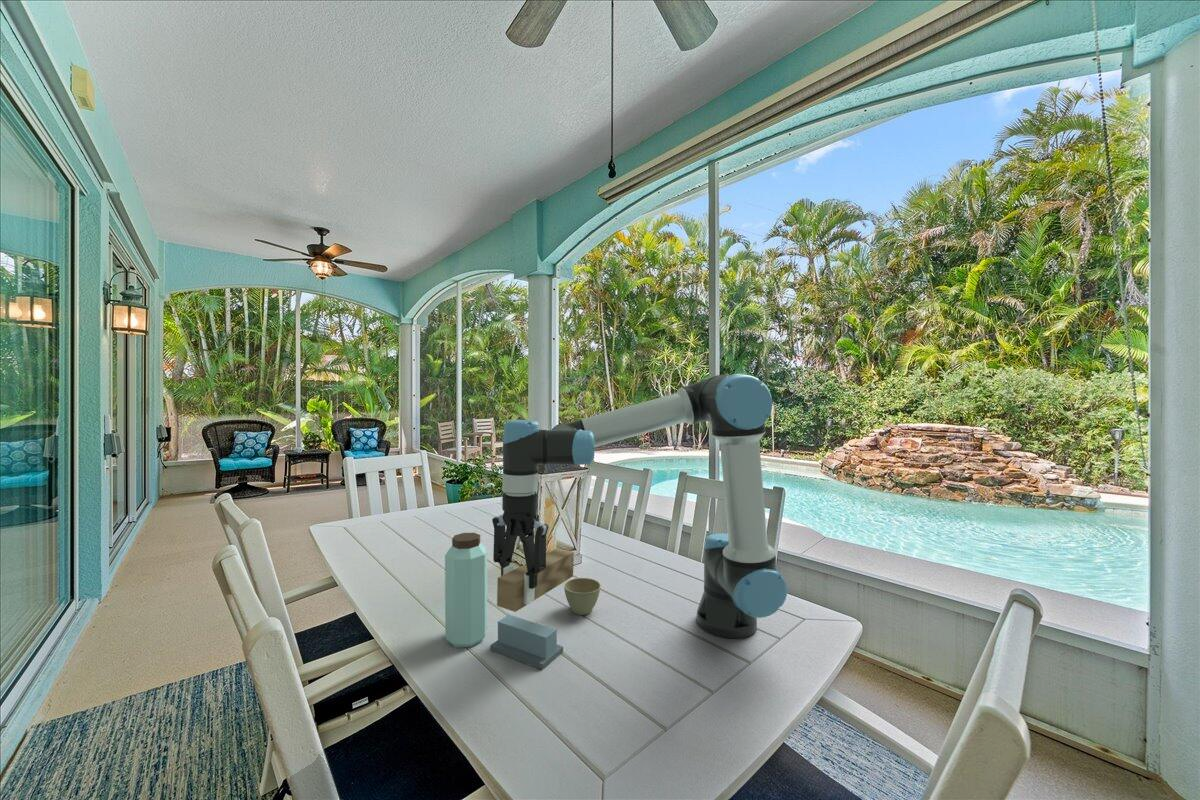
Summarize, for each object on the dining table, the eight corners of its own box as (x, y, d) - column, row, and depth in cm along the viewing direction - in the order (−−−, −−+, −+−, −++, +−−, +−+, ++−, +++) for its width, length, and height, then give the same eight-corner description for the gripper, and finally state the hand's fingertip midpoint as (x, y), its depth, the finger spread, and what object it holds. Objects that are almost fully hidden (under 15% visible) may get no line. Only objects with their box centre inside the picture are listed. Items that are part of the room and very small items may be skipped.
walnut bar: (556, 571, 119) (556, 548, 119) (573, 576, 117) (573, 552, 117) (497, 605, 100) (497, 577, 100) (515, 611, 98) (516, 583, 97)
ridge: (563, 651, 110) (563, 626, 109) (542, 669, 103) (542, 642, 102) (512, 634, 117) (512, 610, 117) (490, 650, 110) (490, 624, 110)
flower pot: (596, 621, 123) (596, 594, 123) (559, 617, 125) (559, 591, 125) (603, 604, 133) (603, 579, 133) (569, 600, 135) (569, 576, 135)
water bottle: (449, 654, 108) (448, 546, 107) (441, 633, 117) (441, 533, 116) (492, 643, 113) (492, 540, 112) (482, 624, 122) (482, 528, 121)
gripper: (565, 494, 100) (563, 602, 101) (499, 483, 109) (497, 583, 110) (544, 501, 94) (542, 616, 95) (476, 490, 102) (474, 595, 103)
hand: (518, 598), depth 102 cm, fingers closed on walnut bar, 5 cm apart
